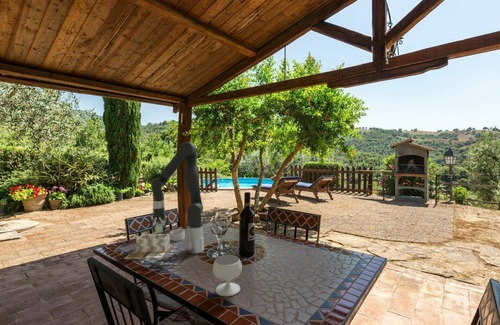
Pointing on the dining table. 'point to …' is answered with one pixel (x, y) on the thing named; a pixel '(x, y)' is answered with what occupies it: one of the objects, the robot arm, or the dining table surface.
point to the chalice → (227, 274)
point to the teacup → (177, 235)
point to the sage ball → (159, 228)
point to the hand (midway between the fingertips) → (159, 231)
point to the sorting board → (151, 247)
